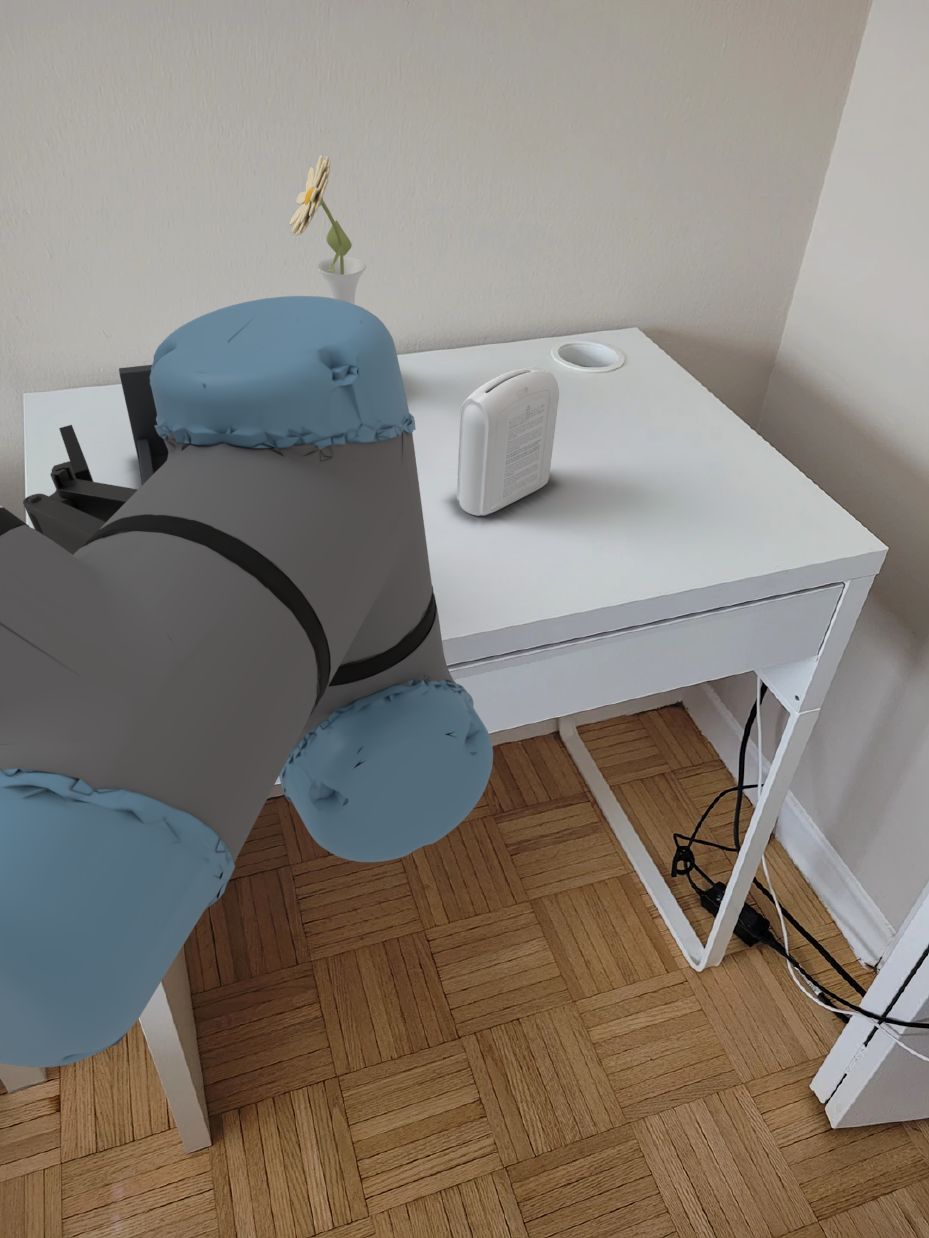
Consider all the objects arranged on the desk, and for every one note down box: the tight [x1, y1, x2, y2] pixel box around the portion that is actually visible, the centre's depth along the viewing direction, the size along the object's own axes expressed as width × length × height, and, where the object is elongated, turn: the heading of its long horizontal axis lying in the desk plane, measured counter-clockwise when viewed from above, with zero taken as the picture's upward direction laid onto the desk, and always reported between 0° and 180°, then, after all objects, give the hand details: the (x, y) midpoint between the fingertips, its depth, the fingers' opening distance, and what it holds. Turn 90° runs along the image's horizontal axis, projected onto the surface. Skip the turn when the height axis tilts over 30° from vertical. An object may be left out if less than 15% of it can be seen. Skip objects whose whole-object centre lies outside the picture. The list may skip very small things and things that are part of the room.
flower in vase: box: [289, 154, 367, 304], centre depth 98 cm, size 13×11×25 cm
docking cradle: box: [118, 364, 169, 486], centre depth 87 cm, size 14×14×10 cm
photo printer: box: [456, 366, 560, 517], centre depth 87 cm, size 10×4×12 cm, turn 134°
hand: (181, 415), depth 60 cm, fingers open, 13 cm apart
